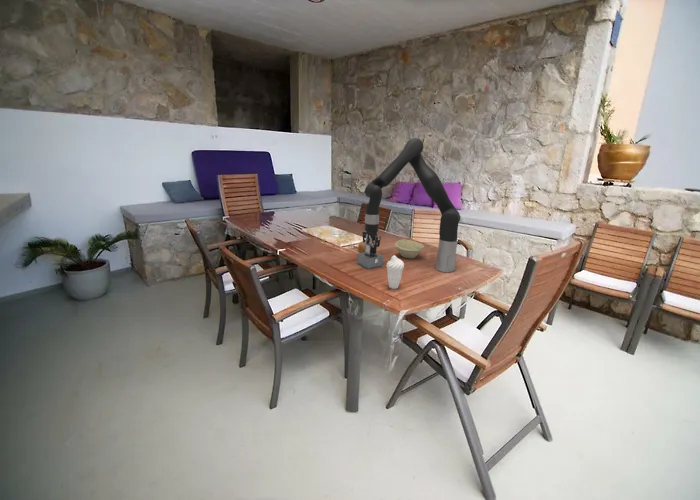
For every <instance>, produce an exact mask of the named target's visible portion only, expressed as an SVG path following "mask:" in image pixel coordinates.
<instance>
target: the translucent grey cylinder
mask: <svg viewBox="0 0 700 500" xmlns="http://www.w3.org/2000/svg"><path fill="white" fill-rule="evenodd" d="M365 245H366V251H365V255H367V256H369V257H371V256H373V255H374V254H372V243H367V244H365ZM374 245H375V243H374Z"/></svg>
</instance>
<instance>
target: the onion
mask: <svg viewBox="0 0 700 500" xmlns="http://www.w3.org/2000/svg"><path fill="white" fill-rule="evenodd" d="M370 243H371V241H370ZM357 251H358V253H364V252H365V243H364V242H363V240H361V241H360V242H359V244H358V246H357Z"/></svg>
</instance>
